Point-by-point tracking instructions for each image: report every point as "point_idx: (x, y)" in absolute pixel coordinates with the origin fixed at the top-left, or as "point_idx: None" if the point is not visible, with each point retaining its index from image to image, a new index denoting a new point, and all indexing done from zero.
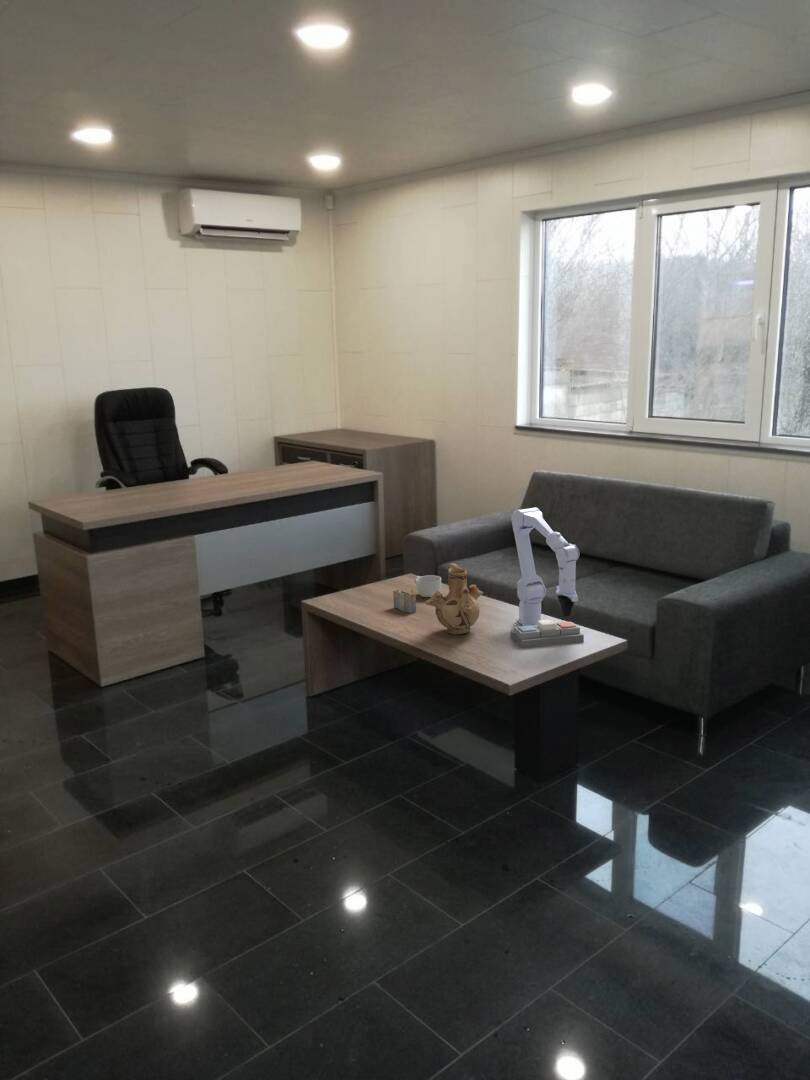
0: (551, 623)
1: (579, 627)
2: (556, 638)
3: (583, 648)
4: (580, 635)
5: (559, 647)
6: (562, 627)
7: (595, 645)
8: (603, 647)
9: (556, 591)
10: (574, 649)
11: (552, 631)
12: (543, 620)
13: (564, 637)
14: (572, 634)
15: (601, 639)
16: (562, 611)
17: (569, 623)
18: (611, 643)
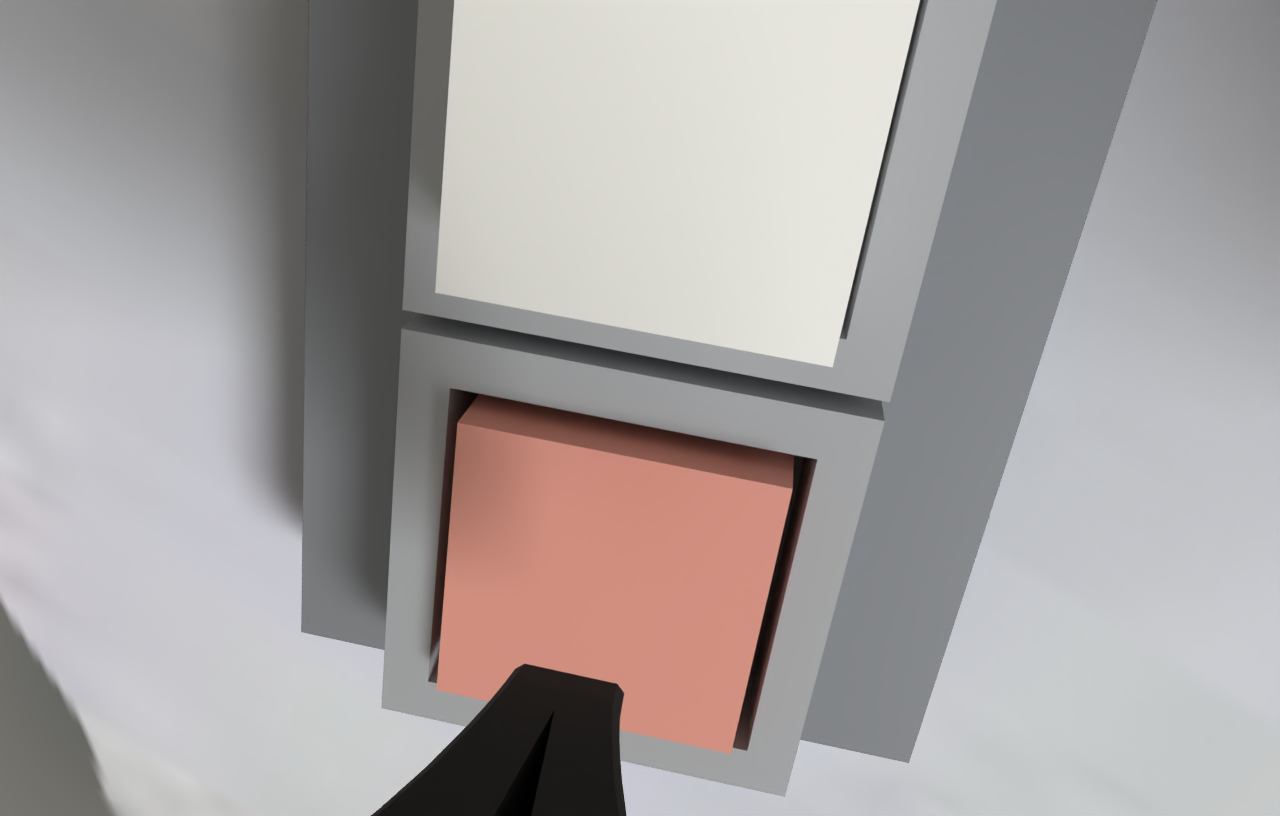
0: (482, 172)
1: (388, 704)
2: (317, 96)
3: (59, 381)
4: (305, 577)
5: (198, 39)
6: (476, 417)
7: (147, 603)
8: (44, 638)
9: None
10: (42, 226)
11: (426, 104)
12: (851, 113)
13: (311, 276)
14: (382, 489)
15: (360, 807)
16: (579, 742)
17: (618, 673)
18: (172, 806)
